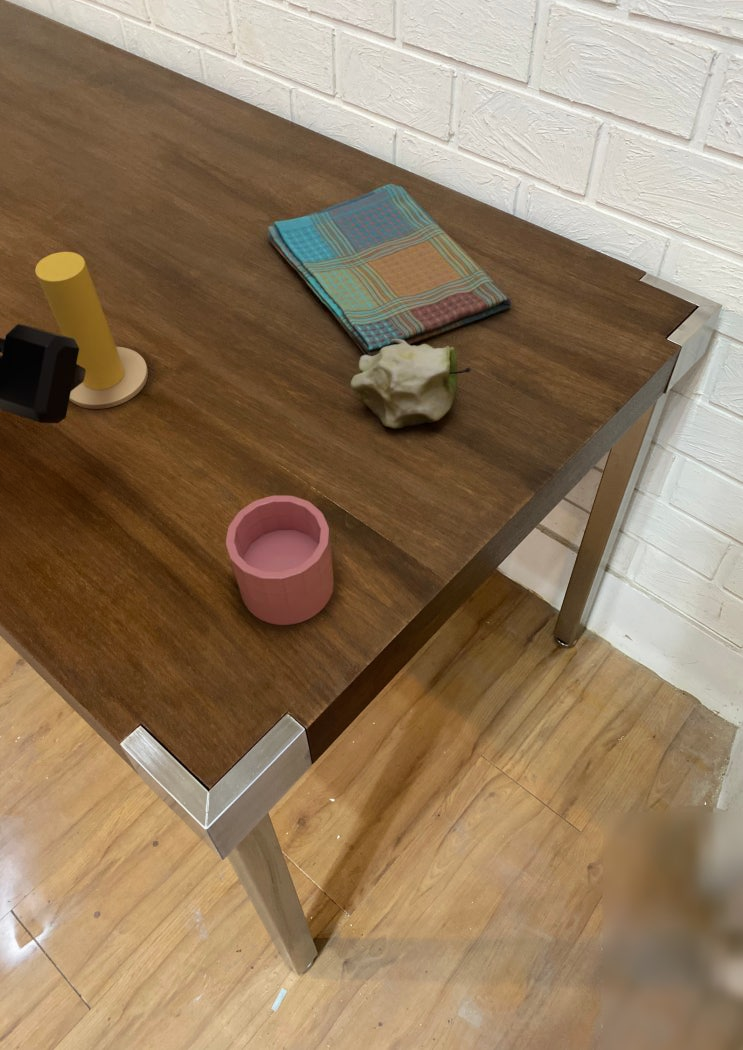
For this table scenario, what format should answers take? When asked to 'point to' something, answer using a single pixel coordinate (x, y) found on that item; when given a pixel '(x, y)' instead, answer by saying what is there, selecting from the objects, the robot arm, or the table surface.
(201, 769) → the table surface
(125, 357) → the disc
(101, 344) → the yellow cylinder
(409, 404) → the fruit
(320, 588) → the pot
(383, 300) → the dish towel
